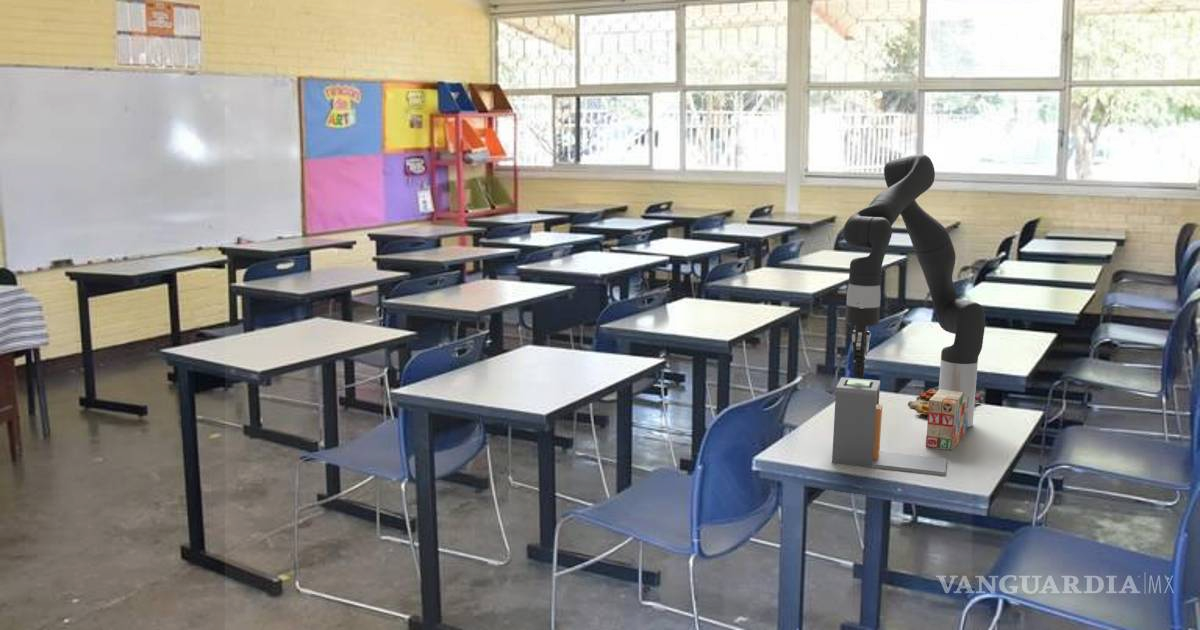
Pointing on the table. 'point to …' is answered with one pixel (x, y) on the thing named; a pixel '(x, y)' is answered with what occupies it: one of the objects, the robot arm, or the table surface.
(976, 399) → the gear puzzle
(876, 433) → the orange upright cuboid
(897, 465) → the grey tower on baseplate
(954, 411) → the stack of blocks
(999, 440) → the table surface
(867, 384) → the on button
